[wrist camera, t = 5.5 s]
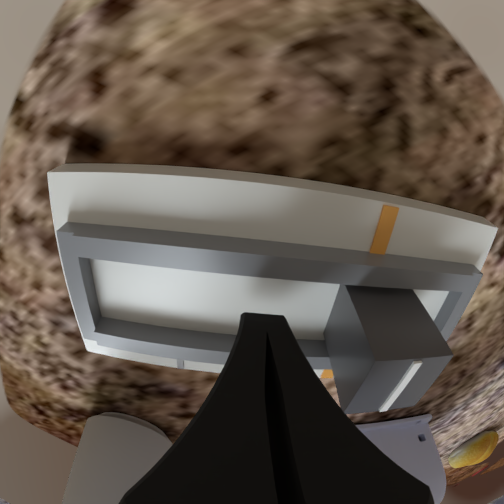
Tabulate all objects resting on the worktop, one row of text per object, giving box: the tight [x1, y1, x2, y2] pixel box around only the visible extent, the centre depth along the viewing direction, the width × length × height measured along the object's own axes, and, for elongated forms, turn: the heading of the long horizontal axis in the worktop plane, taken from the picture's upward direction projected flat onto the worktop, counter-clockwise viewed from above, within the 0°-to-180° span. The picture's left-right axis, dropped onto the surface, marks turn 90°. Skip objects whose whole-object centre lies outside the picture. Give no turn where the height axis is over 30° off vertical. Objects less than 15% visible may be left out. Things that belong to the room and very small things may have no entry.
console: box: [47, 163, 498, 378], centre depth 11 cm, size 18×9×2 cm, turn 83°
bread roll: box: [448, 430, 498, 468], centre depth 26 cm, size 8×9×4 cm
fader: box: [323, 284, 453, 414], centre depth 10 cm, size 3×3×4 cm
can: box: [62, 412, 173, 504], centre depth 14 cm, size 8×8×12 cm
